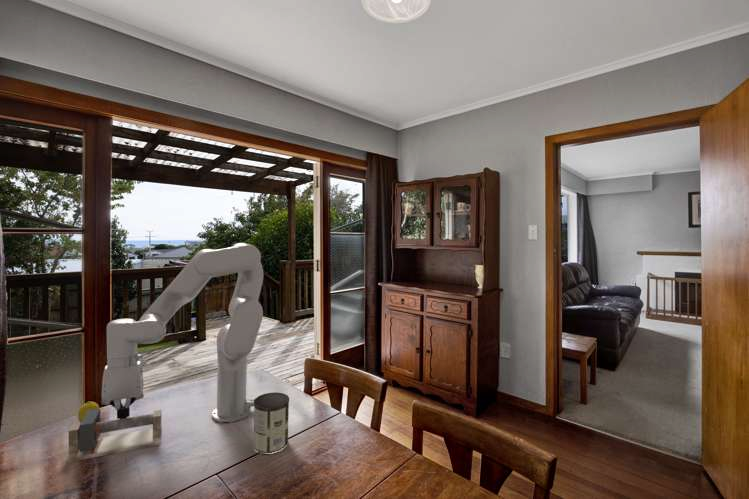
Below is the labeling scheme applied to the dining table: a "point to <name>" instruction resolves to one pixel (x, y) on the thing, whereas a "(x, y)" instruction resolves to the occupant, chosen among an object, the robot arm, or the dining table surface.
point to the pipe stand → (117, 436)
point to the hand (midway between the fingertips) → (123, 419)
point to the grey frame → (89, 430)
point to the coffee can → (271, 422)
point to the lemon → (86, 409)
